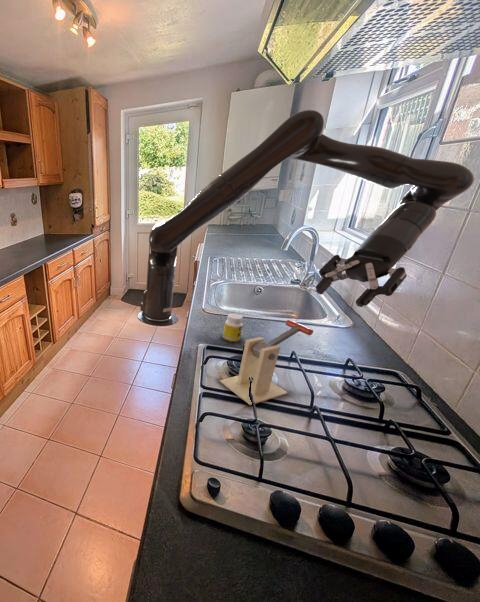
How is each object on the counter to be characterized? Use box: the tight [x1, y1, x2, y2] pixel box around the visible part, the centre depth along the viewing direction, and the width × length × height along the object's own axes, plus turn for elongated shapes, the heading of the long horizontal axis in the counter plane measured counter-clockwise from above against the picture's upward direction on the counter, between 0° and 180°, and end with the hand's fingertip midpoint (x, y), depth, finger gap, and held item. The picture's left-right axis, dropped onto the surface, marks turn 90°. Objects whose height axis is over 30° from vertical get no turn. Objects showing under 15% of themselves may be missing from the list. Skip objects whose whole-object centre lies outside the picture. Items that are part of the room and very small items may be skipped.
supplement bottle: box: [222, 313, 244, 343], centre depth 91 cm, size 5×5×8 cm
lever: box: [252, 319, 314, 358], centre depth 68 cm, size 13×6×2 cm, turn 109°
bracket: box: [219, 336, 288, 406], centre depth 69 cm, size 11×9×13 cm
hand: (337, 298), depth 69 cm, fingers open, 8 cm apart
